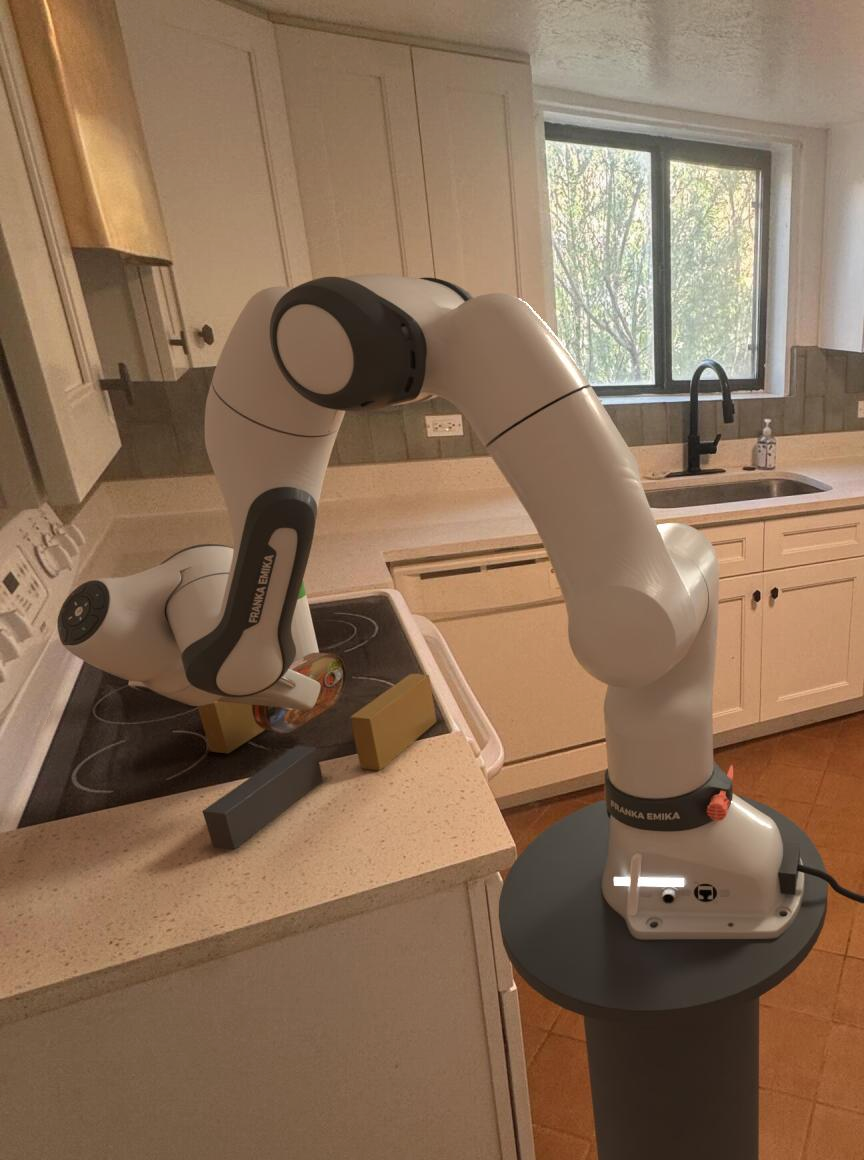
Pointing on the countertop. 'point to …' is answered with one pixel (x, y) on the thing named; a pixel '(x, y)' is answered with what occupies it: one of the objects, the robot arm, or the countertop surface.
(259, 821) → the grey rectangular block
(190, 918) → the countertop surface
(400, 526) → the countertop surface
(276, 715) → the tin
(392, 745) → the khaki rectangular brick
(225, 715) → the tan cardboard-coloured block
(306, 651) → the wine bottle
